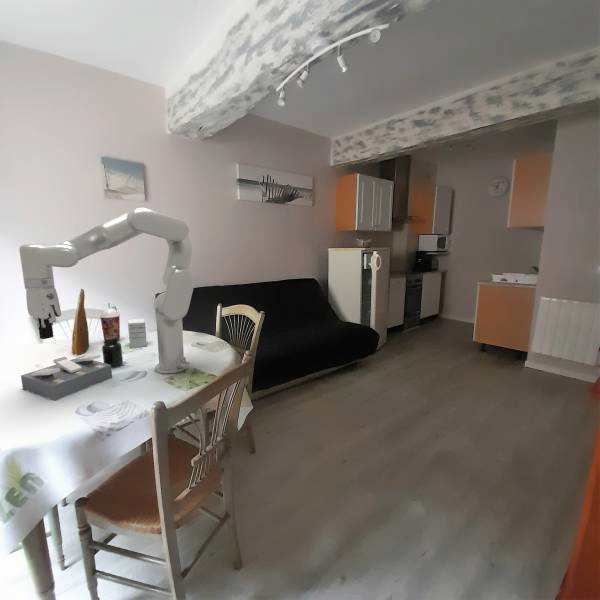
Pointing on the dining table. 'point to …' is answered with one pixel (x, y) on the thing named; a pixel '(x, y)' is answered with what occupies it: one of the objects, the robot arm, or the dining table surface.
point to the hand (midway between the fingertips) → (46, 337)
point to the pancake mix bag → (80, 328)
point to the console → (66, 379)
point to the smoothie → (110, 322)
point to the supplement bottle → (112, 352)
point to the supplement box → (137, 333)
